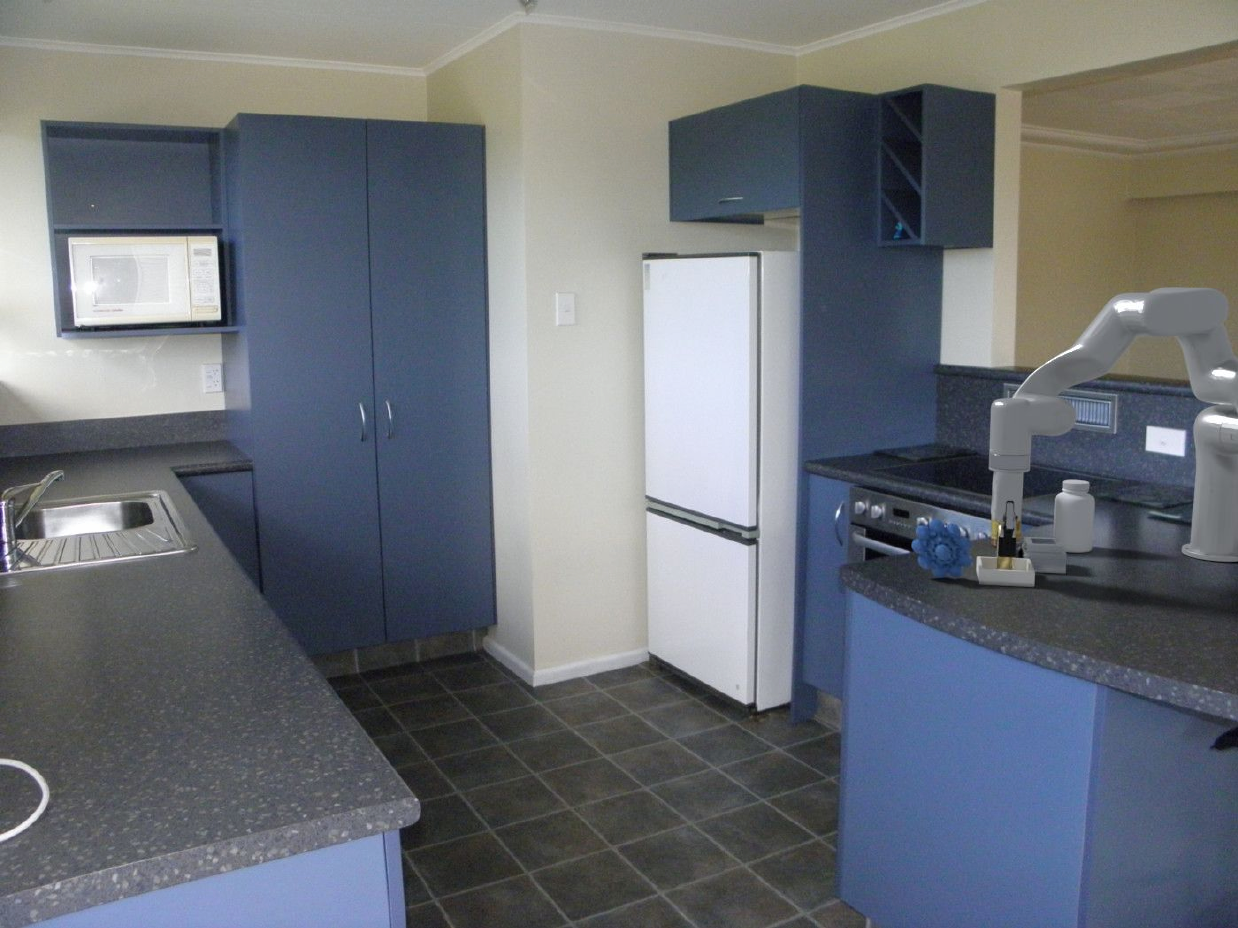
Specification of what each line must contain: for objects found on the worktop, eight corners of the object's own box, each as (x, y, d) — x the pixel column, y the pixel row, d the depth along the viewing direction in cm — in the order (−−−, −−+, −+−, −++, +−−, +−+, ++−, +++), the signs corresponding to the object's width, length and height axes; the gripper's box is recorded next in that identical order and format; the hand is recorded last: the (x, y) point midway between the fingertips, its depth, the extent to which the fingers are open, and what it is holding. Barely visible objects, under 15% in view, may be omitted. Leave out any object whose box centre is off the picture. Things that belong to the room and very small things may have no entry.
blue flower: (911, 582, 207) (913, 523, 205) (910, 573, 213) (911, 515, 211) (973, 585, 204) (976, 525, 202) (970, 576, 211) (972, 517, 209)
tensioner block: (1060, 563, 219) (1061, 537, 218) (1065, 573, 211) (1067, 546, 210) (994, 560, 222) (995, 534, 221) (996, 570, 214) (997, 544, 213)
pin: (993, 568, 211) (995, 513, 209) (1014, 569, 210) (1017, 514, 208) (994, 573, 207) (997, 517, 205) (1016, 574, 206) (1019, 518, 204)
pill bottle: (1090, 545, 232) (1094, 478, 230) (1093, 554, 225) (1097, 485, 222) (1051, 543, 235) (1054, 477, 232) (1053, 552, 227) (1057, 484, 225)
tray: (1028, 573, 212) (1029, 558, 211) (1034, 587, 202) (1034, 571, 202) (976, 570, 214) (976, 556, 214) (979, 584, 205) (979, 569, 204)
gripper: (986, 455, 213) (983, 543, 216) (991, 469, 198) (988, 564, 201) (1025, 455, 211) (1022, 544, 214) (1034, 470, 196) (1030, 566, 199)
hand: (1005, 553), depth 208 cm, fingers closed on pin, 3 cm apart
